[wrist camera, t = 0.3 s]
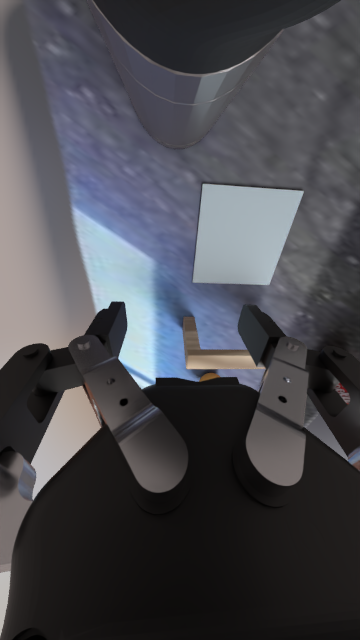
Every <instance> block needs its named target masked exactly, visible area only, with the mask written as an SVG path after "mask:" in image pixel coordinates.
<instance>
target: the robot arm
mask: <svg viewBox="0 0 360 640" xmlns="http://www.w3.org/2000/svg"><path fill="white" fill-rule="evenodd" d="M86 1H87V4H88V6H89V8H90V10H91V12H92V15H93V17H94V19H95V21H96V24H97V26H98V28H99V30H100V32H101V34H102V36H103V39H104V41H105V43H106V45H107V48H108V50H109V52H110V54H111V57H112V59H113V61H114V64H115V66H116V68H117V70H118V73H119V75H120V77H121V79H122V82H123V84H124V86H125V88H126V91H127V93H128V95H129V98H130V100H131V102H132V105H133V107H134V109H135V111H136V113H137V116H138V117H139V119H140V121H141V123H142V125H143V127H144V128H145V129H146V131H147V132H148V133H149V135H150V136H151V137H152V138H153V139H155V140H156V141H157V142H158V143H160V144H162V145H163V146H165V147H168V148H172V149H185V148H187V147H190V146H193V145H194V144H196V143H197V142H199V141H200V140H201V139H202V138H203V137H204V136H205V135H206V134H207V133H208V132H209V130H210V129H211V128H212V126H213V125H214V124H215V123H216V121H217V120H218V118H219V117H220V116H221V114H222V113H223V112H224V110H225V109H226V108H227V106H228V105H229V104H230V102H231V101H232V100H233V98H234V97H235V96H236V94H237V93H238V91H239V90H240V89H241V87H242V86H243V85H244V83H245V82H246V81H247V79H248V78H249V77H250V75H251V74H252V73H253V71H254V70H255V69H256V67H257V66H258V65H259V63H260V62H261V60H262V59H263V58H264V56H265V55H266V54H267V52H268V51H269V49H270V48H271V47H272V45H273V44H274V42H275V41H276V40H277V38H278V37H279V36H280V34H281V33H282V32H283V30H284V29H285V28H287V27H290V26H293V25H296V24H298V23H300V22H303V21H305V20H307V19H310V18H312V17H313V16H315V15H317V14H319V13H321V12H323V11H325V10H327V9H328V8H330V7H331V6H333V5H334V4H336V3H337V2H339V1H340V0H86ZM126 331H127V317H126V309H125V303H124V302H111V304H110V306H109V308H108V309H103V310H101V311H100V312H98V313H97V315H96V317H95V319H94V320H93V322H92V323H91V325H90V326H89V328H88V330H87V331H86V333H85V335H83V336H79V337H77V338H75V339H73V340H72V341H71V342H70V343H69V345H68V347H66V348H61V349H56V350H51V351H50V349H49V347H48V346H47V345H46V344H42V343H39V344H32V345H29V346H26V347H24V348H22V349H20V350H19V351H17V352H16V353H15V354H14V355H13V356H12V357H11V358H10V359H9V361H8V362H7V363H6V364H5V365H4V366H3V368H1V370H0V573H1V572H6V571H11V577H10V590H9V597H8V604H7V609H6V615H5V620H4V625H3V629H2V633H1V637H0V640H360V362H359V361H358V360H357V359H356V358H355V357H354V356H353V355H352V354H350V353H349V352H347V351H346V350H344V349H341V348H339V347H336V346H325V347H324V348H323V350H322V351H321V352H318V351H313V350H308V349H307V347H306V345H305V344H304V343H302V342H301V341H299V340H297V339H295V338H292V337H287V336H286V335H285V334H284V333H283V332H282V330H281V329H280V328H279V327H278V326H277V324H276V323H275V322H273V320H272V319H271V317H270V316H268V315H267V314H265V313H264V312H261V310H260V309H259V308H258V307H257V306H256V305H244V306H243V308H242V311H241V315H240V318H239V322H238V332H239V334H240V336H241V338H242V340H243V342H244V344H245V346H246V348H247V349H248V351H249V353H250V355H251V357H252V359H253V361H254V363H255V365H256V367H265V368H266V370H265V372H264V375H263V377H262V380H261V382H260V385H259V388H258V390H257V391H256V390H254V389H253V388H251V387H248V386H246V385H242V384H239V381H238V379H237V377H217V378H213V379H209V380H204V381H200V382H195V381H190V380H185V379H180V378H156V384H154V385H151V386H148V387H146V388H144V389H142V390H141V388H140V387H139V386H138V384H137V383H136V382H135V380H134V379H133V378H132V376H131V375H130V374H129V372H128V371H127V370H126V369H125V367H124V366H123V365H122V363H121V362H120V361H119V359H118V357H119V353H120V350H121V347H122V344H123V341H124V338H125V334H126ZM339 382H340V384H341V385H342V386H343V387H344V388H345V389H346V391H347V392H348V393H349V395H350V402H349V404H347V403H346V402H345V401H344V400H343V398H342V397H341V396H340V395H339V393H338V392H337V391H336V390H335V387H336V386H337V385H338V384H339ZM79 386H83V388H84V390H85V393H86V394H87V397H88V399H89V401H90V403H91V405H92V407H93V409H94V412H95V414H96V417H97V419H98V421H99V424H100V426H101V429H100V430H99V431H98V432H97V433H96V434H95V435H94V436H93V437H92V438H91V439H90V440H89V441H88V442H87V443H86V444H85V445H84V446H83V447H82V448H81V449H80V450H79V451H78V452H77V453H76V454H75V455H74V456H73V457H72V458H71V459H70V460H69V461H68V462H67V463H66V464H65V465H64V466H63V467H62V468H61V469H60V470H59V471H58V472H57V473H56V474H55V475H54V476H53V477H52V478H51V479H50V480H49V481H48V482H47V483H46V484H45V486H44V487H43V488H42V489H41V490H40V492H39V493H38V494H37V496H36V497H35V499H34V500H33V499H32V493H33V488H34V485H35V481H36V471H35V469H34V468H33V467H32V466H31V462H32V460H33V457H34V455H35V453H36V451H37V449H38V447H39V445H40V443H41V440H42V438H43V436H44V434H45V432H46V430H47V427H48V425H49V423H50V421H51V419H52V417H53V414H54V412H55V410H56V408H57V406H58V404H59V402H60V400H61V398H62V395H63V393H64V391H65V390H67V389H71V388H75V387H79ZM307 394H308V396H309V398H310V399H311V401H312V402H313V404H314V405H315V407H316V408H317V410H318V412H319V413H320V415H321V416H322V418H323V419H324V421H325V422H326V424H327V426H328V427H329V429H330V430H331V432H332V433H333V435H334V436H335V438H336V440H337V441H338V443H339V444H340V446H341V447H342V449H343V450H344V452H345V453H346V455H347V457H348V461H347V460H345V459H344V458H343V457H342V456H340V455H339V454H338V453H336V452H335V451H334V450H333V449H331V448H330V447H329V446H327V445H326V444H325V443H323V442H322V441H321V440H320V439H319V438H317V437H316V436H314V435H313V434H312V433H311V432H310V431H308V430H307V429H306V428H304V427H303V424H304V414H305V405H306V395H307Z"/></svg>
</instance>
